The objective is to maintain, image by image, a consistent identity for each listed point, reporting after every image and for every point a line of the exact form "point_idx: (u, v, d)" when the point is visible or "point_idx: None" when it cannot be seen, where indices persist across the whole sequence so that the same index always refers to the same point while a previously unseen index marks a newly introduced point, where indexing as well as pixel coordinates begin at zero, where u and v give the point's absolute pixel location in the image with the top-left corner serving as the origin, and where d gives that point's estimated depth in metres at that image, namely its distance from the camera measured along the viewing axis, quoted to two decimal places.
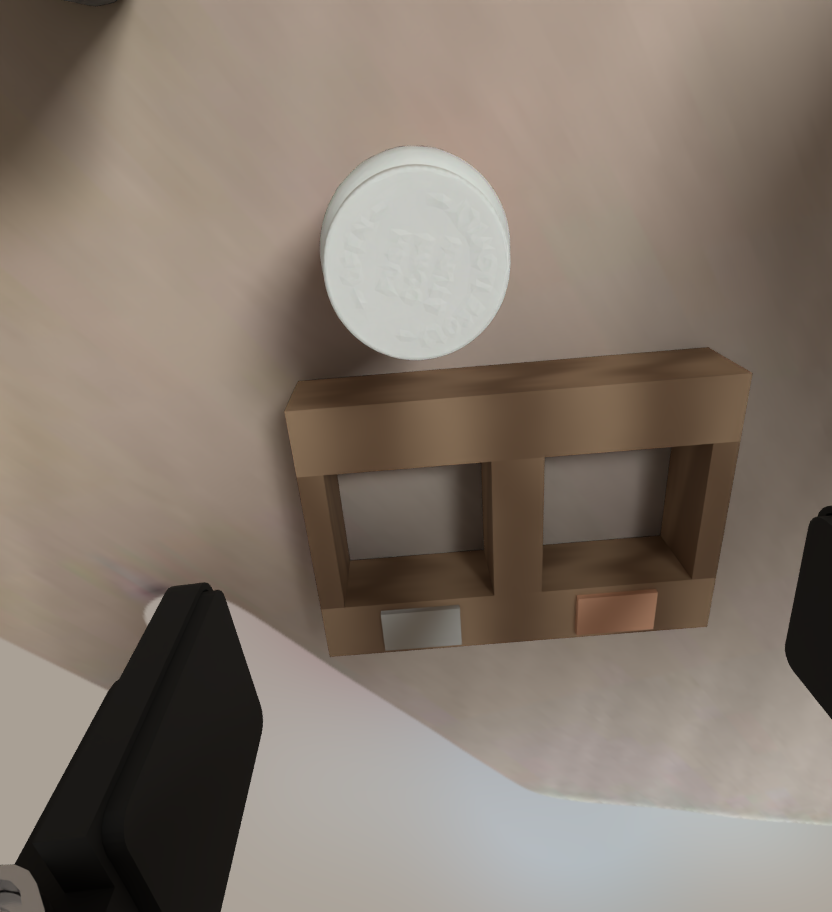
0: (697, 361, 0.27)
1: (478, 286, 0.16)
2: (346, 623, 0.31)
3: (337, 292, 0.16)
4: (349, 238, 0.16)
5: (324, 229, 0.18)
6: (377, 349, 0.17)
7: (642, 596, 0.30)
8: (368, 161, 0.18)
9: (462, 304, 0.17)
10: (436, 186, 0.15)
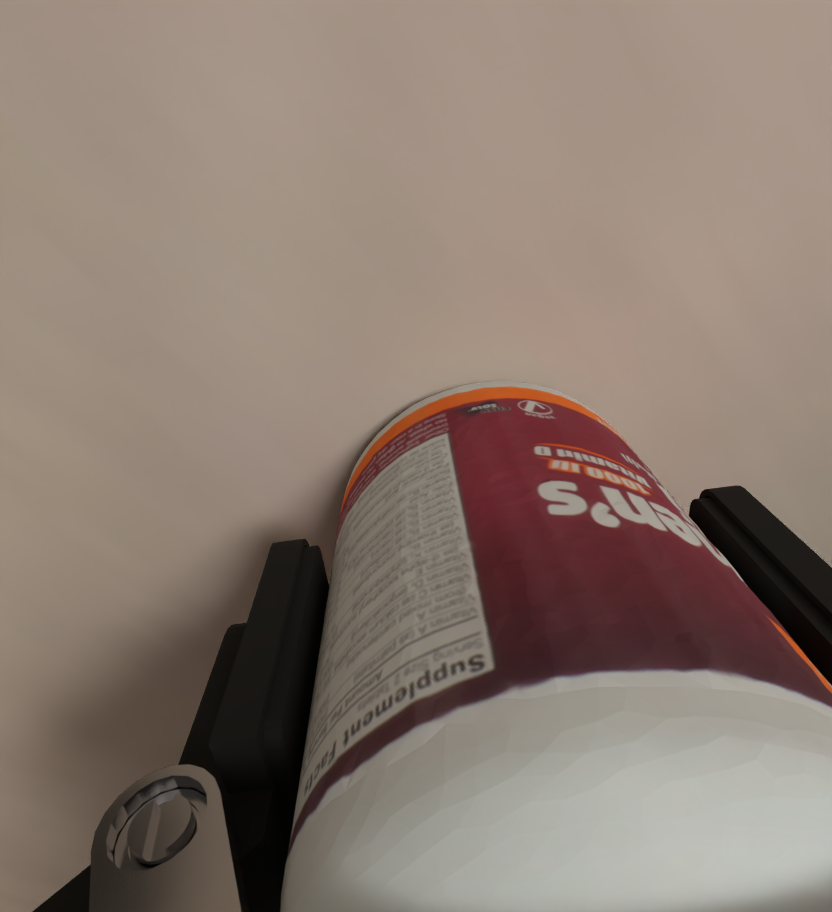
0: None
1: None
2: None
3: None
4: None
5: None
6: None
7: None
8: (455, 797, 0.04)
9: None
10: None
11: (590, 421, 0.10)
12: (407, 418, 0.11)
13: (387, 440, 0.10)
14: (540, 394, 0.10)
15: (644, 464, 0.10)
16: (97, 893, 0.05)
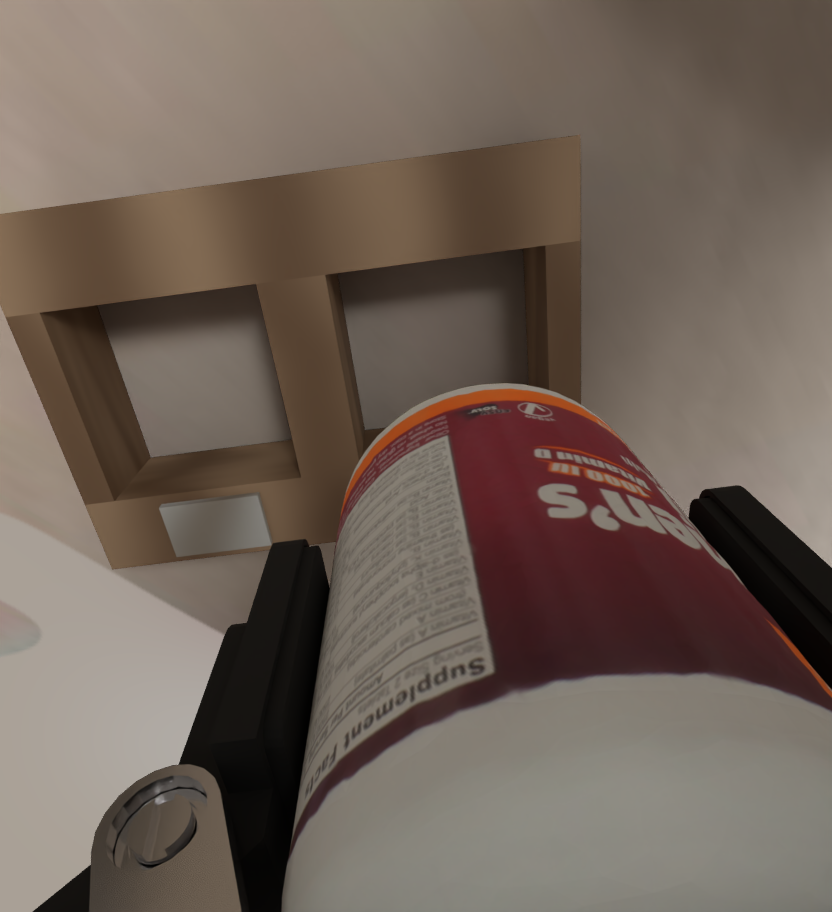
0: None
1: None
2: (122, 523, 0.24)
3: None
4: None
5: None
6: None
7: None
8: (455, 800, 0.04)
9: None
10: None
11: (590, 423, 0.10)
12: (407, 420, 0.11)
13: (387, 442, 0.10)
14: (540, 396, 0.10)
15: None
16: (97, 893, 0.05)
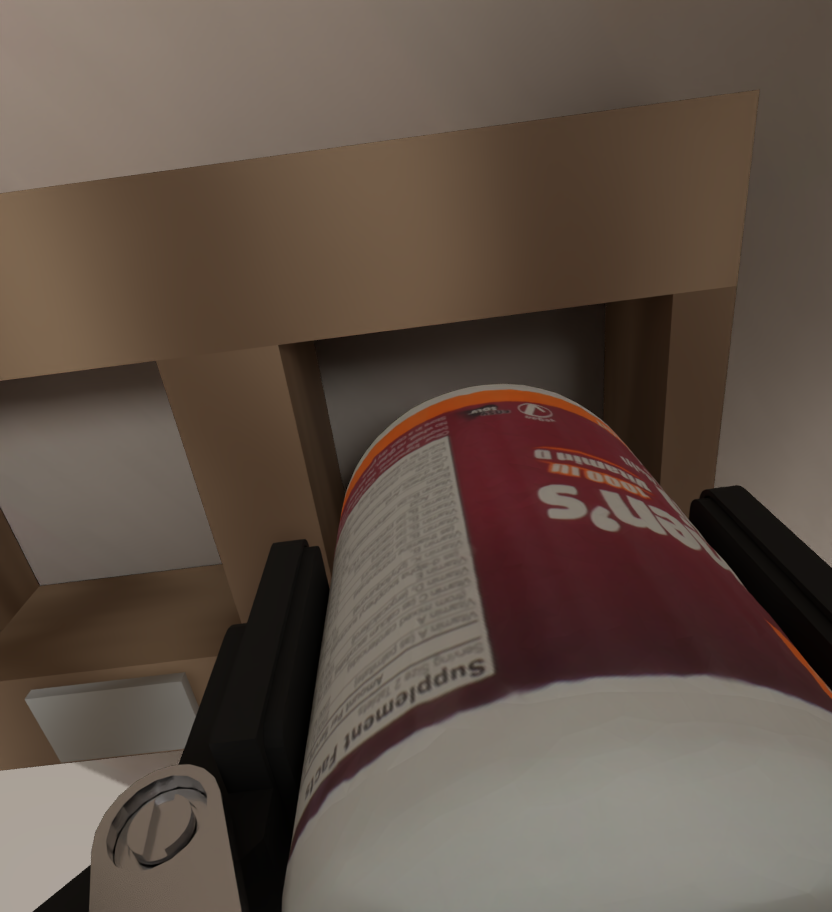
0: None
1: None
2: None
3: None
4: None
5: None
6: None
7: None
8: (455, 802, 0.04)
9: None
10: None
11: (590, 424, 0.10)
12: (407, 421, 0.11)
13: (387, 443, 0.10)
14: (540, 397, 0.10)
15: (644, 467, 0.10)
16: (97, 893, 0.05)
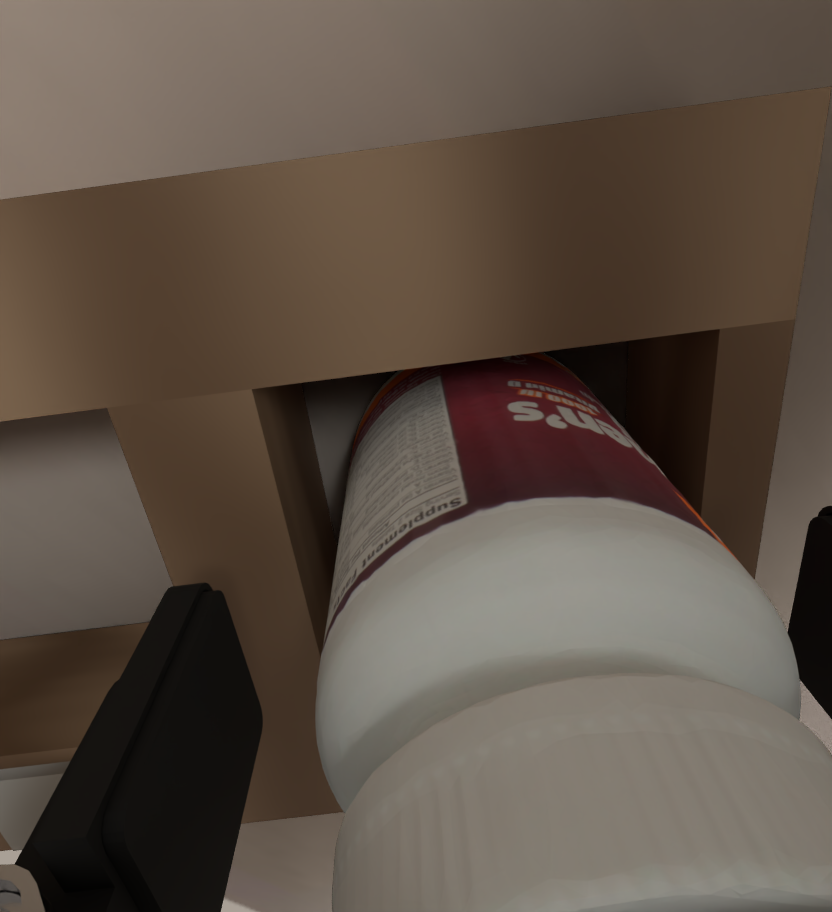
0: None
1: None
2: None
3: None
4: None
5: (325, 719, 0.07)
6: None
7: None
8: (438, 569, 0.06)
9: None
10: None
11: (557, 369, 0.12)
12: (407, 369, 0.13)
13: (391, 387, 0.13)
14: None
15: (601, 403, 0.12)
16: None
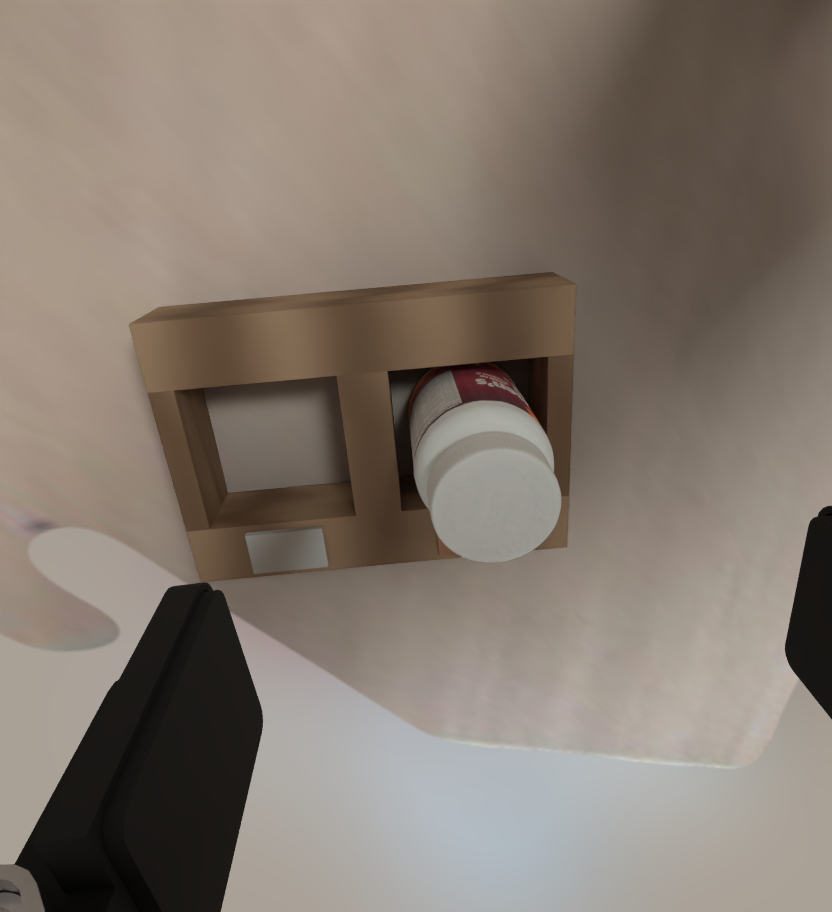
0: (533, 280, 0.29)
1: (538, 517, 0.23)
2: (214, 546, 0.31)
3: (440, 523, 0.23)
4: (451, 491, 0.23)
5: (421, 460, 0.25)
6: (465, 557, 0.24)
7: None
8: (454, 416, 0.25)
9: (526, 528, 0.23)
10: (512, 460, 0.22)
11: (496, 369, 0.31)
12: (436, 368, 0.31)
13: (429, 374, 0.31)
14: None
15: (513, 383, 0.30)
16: None
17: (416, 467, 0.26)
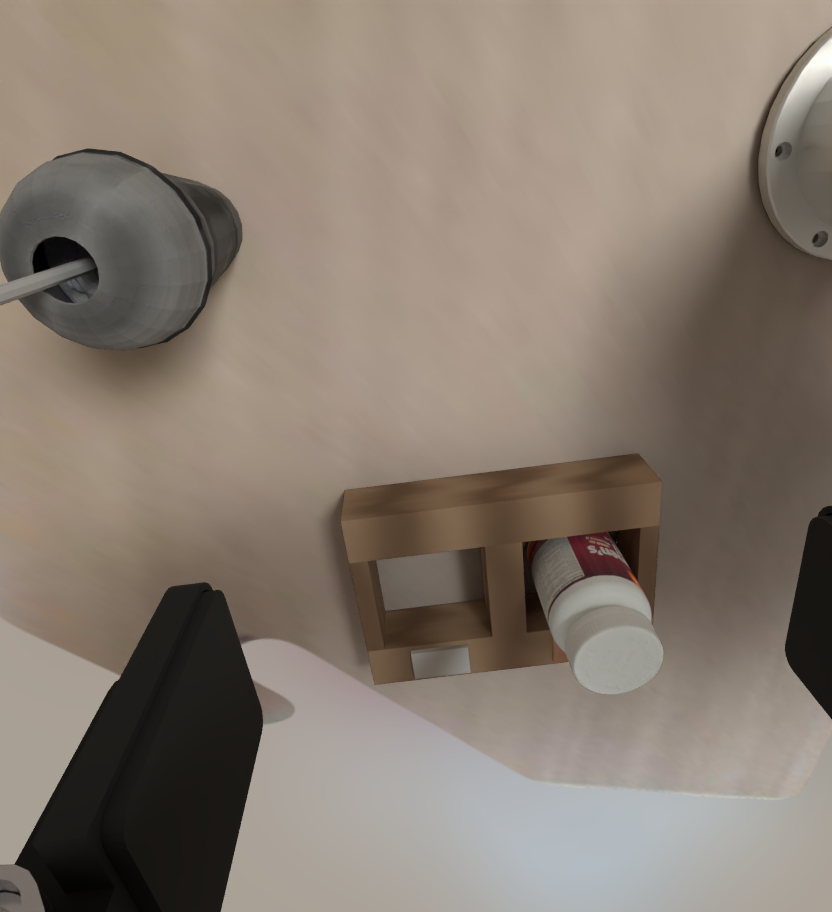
0: (627, 469, 0.39)
1: (647, 666, 0.34)
2: (386, 660, 0.42)
3: (579, 672, 0.34)
4: (588, 653, 0.33)
5: (557, 618, 0.36)
6: (595, 691, 0.34)
7: None
8: (581, 589, 0.35)
9: (639, 673, 0.34)
10: (631, 633, 0.32)
11: None
12: None
13: None
14: None
15: (610, 537, 0.41)
16: None
17: (552, 621, 0.36)
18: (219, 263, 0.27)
